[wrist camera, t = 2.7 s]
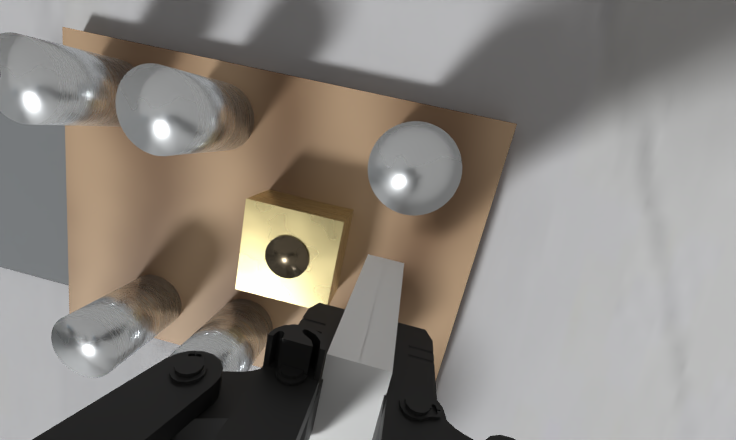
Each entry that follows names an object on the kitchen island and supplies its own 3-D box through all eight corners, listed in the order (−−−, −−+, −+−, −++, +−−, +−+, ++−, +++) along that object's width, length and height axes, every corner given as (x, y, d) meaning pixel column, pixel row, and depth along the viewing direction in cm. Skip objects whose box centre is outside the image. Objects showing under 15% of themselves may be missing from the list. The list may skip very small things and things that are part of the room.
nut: (258, 268, 19) (234, 289, 16) (269, 189, 17) (245, 198, 15) (337, 288, 18) (325, 313, 16) (353, 209, 17) (343, 222, 15)
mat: (-37, 252, 22) (-45, 254, 22) (-62, 32, 19) (-72, 30, 18) (77, 283, 22) (71, 286, 21) (73, 62, 18) (65, 60, 18)
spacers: (90, 307, 21) (4, 353, 16) (89, 52, 17) (-24, 24, 13) (387, 388, 19) (379, 462, 15) (457, 132, 16) (474, 132, 11)
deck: (84, 306, 22) (69, 314, 21) (81, 32, 18) (62, 26, 17) (424, 399, 20) (425, 413, 19) (510, 124, 16) (517, 123, 15)
